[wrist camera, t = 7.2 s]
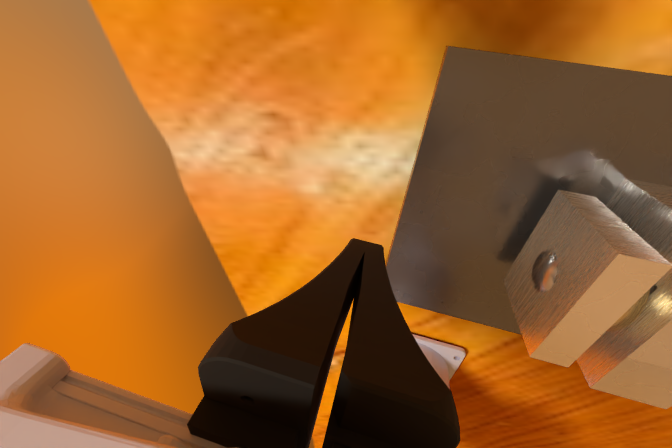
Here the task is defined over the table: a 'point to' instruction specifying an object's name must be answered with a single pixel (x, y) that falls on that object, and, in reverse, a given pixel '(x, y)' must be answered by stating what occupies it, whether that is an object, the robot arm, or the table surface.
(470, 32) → the table surface
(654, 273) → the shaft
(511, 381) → the table surface
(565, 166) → the bearing bracket
